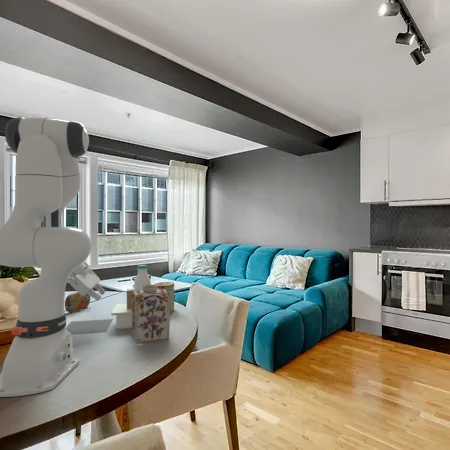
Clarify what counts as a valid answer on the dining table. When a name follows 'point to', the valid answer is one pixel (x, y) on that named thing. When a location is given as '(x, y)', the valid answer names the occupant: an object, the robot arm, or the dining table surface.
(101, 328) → the mat
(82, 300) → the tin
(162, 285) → the yellow labeled can
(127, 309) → the lid
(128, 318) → the dish
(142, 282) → the milk bottle
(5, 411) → the dining table surface
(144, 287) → the decorative jar
